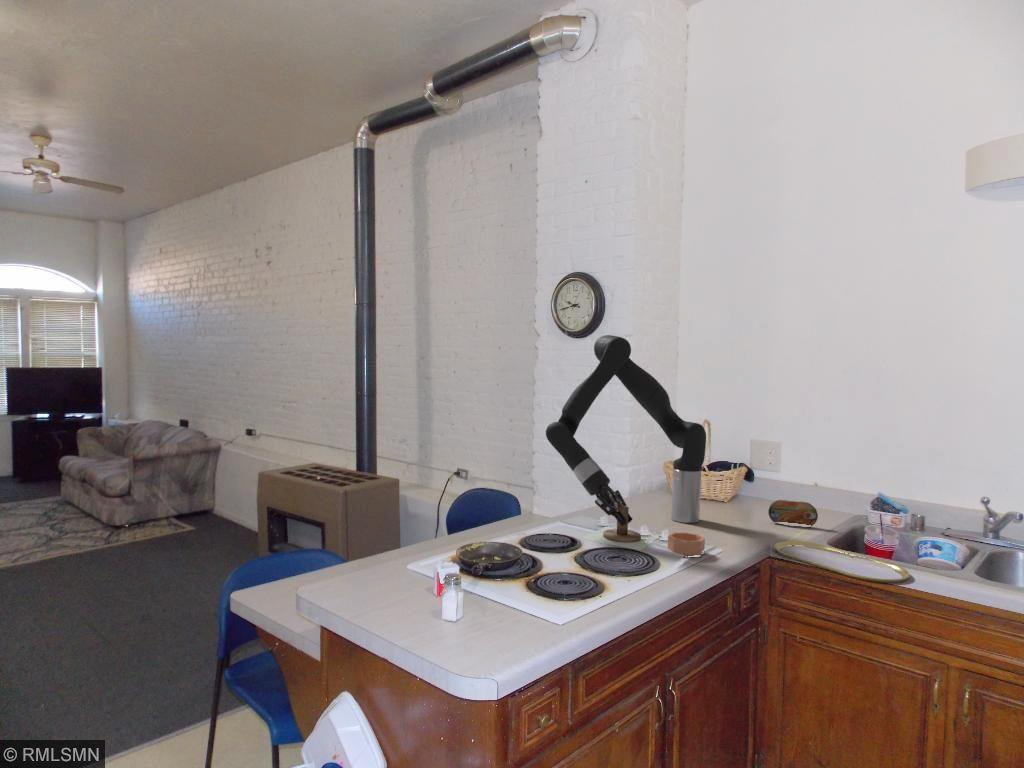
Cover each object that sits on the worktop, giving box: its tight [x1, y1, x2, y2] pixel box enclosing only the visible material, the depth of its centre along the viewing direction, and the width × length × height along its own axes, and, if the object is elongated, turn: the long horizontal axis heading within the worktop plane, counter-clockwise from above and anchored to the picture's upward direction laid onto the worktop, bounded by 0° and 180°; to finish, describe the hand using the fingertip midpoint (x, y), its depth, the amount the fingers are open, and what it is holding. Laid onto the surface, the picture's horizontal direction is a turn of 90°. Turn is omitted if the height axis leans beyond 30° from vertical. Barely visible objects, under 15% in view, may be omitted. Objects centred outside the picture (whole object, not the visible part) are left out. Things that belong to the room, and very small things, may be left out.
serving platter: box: [773, 540, 910, 584], centre depth 173 cm, size 19×35×2 cm, turn 31°
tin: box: [767, 499, 819, 527], centre depth 213 cm, size 15×3×8 cm, turn 68°
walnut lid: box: [603, 506, 641, 543], centre depth 187 cm, size 11×11×9 cm
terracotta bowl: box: [667, 531, 706, 557], centre depth 177 cm, size 9×9×4 cm
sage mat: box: [580, 526, 660, 551], centre depth 187 cm, size 18×18×1 cm
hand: (627, 522), depth 186 cm, fingers closed on walnut lid, 3 cm apart
